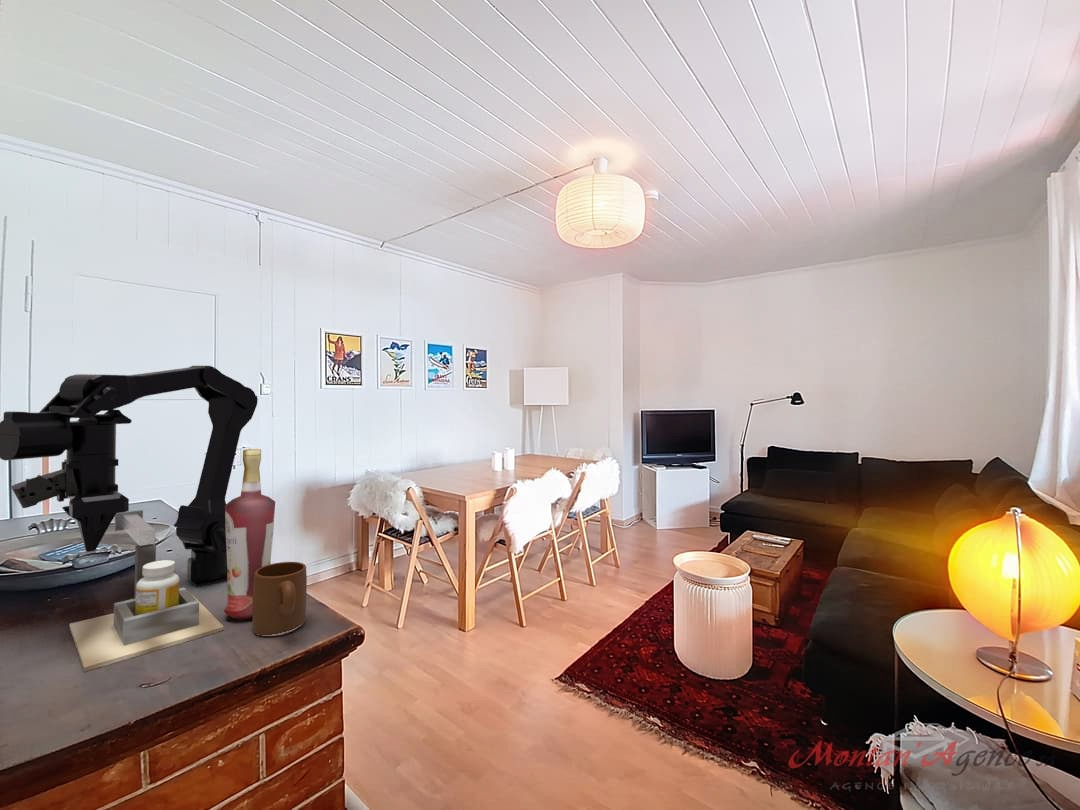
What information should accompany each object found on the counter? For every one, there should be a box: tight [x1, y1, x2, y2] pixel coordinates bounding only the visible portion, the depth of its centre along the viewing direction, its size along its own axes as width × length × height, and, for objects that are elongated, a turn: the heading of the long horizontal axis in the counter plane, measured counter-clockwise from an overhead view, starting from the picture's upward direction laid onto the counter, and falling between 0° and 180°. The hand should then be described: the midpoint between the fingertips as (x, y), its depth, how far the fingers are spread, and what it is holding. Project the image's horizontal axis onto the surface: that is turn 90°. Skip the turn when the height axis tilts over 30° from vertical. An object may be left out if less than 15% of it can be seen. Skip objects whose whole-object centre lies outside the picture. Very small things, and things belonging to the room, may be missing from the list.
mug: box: [252, 561, 308, 636], centre depth 75 cm, size 12×8×9 cm, turn 37°
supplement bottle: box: [135, 559, 180, 616], centre depth 75 cm, size 5×5×10 cm
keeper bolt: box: [114, 509, 156, 546], centre depth 86 cm, size 4×17×3 cm, turn 49°
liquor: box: [223, 448, 276, 621], centre depth 81 cm, size 7×7×28 cm
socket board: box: [69, 544, 225, 673], centre depth 75 cm, size 16×18×11 cm
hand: (90, 550), depth 76 cm, fingers closed
